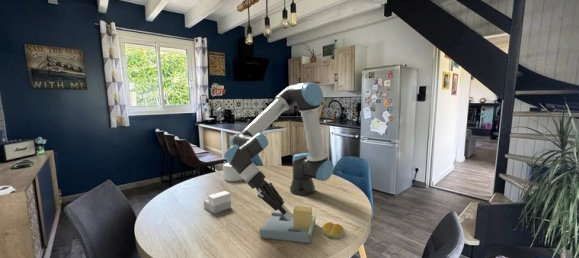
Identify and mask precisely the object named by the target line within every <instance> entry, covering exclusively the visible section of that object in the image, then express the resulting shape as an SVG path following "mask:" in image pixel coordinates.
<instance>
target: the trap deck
mask: <svg viewBox="0 0 579 258" xmlns="http://www.w3.org/2000/svg"><path fill="white" fill-rule="evenodd" d="M270 214H271V215H270V217H269V218H268V219H267V221H266V222H265V224H264V226H263V227H260V229H259V232H260V233H259V234H260V236H259V237H260V239H262V240H263V239H265V240H272V241H273V240H274V241H281V242H282V241H283V242H288V243H289V242H290V243H299V244H307V245H310V244H311V243H312V239H313V236H314V235H313V234H314V231H315V227H316V213H312V221H311V225H310V228H309V229H302V228H294V227H293V218H292V219H291V220H289V221H288V220H287V219H286V218H285V216H284V215H283V214H282V213H281V212H280V211H279V212H277V211H271V213H270Z"/></svg>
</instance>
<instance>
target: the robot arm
mask: <svg viewBox="0 0 579 258" xmlns="http://www.w3.org/2000/svg"><path fill="white" fill-rule="evenodd" d="M323 98H324V93H323V90H322V87H321V86H320V85H318V84H317V83H315V82H308V81H307V82H300V83H293V84H290V85H288V86H287V87H285V89H283V90H282V91H281V92H279V93H278V94H277V95H276V96H275V97H274V100H273V102H272V103H270V104H269V105H267V107H266V108H265V109H264V110H263V111H262V112H261V113H260V114H259V115H258V116H257V117H256V118H255V119H253V120H252V122H250V124H248V125H247V126H246V127H245V128H244V129H243V130H242V131H240V133H236V134H233V135H232V136H231V138H230V145H231V146H230V147H228V149H227V150H226V151H225V152H224V155H223V157H224V159H225V160H226V162H227V163H229V164H230V165H231V166H232V167H233V168H234V169H235V170H236V171H237V172H238V173H239V175H240V176H241V177H242V178H243V180H244V181H245V182H247V185H248V186H249V187H250V188H251V189H252V190H253V189H256V191H257V192H258V194H257V197H258V198H259V199H261V200H262V201H264V202H265V203H266V204H267V205H268V206H269V207H270V208H272V209H273V210H274V211H275V212H277V211H279V212H280V213H282V214H283V215H284V216H285V218H286V219H287V220H288V221H289V220H291V219H292V218H293V212H291V211H290V210H289V208H288V207H287V206H286V205H285V204H284V203H285V200H284V199H283V198H282V196H281V194H280V193H279V191H278V190H277V189H276V188H275V187H274V185H273V183H272V182H269V183H268V181H266V180H265V179H266V175H265V174H264V173H263V172H262V171H260V169H259V167H258V166H257V165H256V164H255V163H254V162H253V161H252V160H253V159H254V158H255V157H256V156H258V155H259V154H261V152H263V151H264V150H265V149H266V148H267V147H268V145H269V140H268V138H267V137H266V136H265V134H263V132H265V130H266V129H268V128H269V127H270V125H272V124H273V122H274V121H275V120H276V119H278V117H279V116H281V114H282V113H284V112H286V111H288V110H290V109H291V108H292V107H295V106H297V110H298V112H299V113H300V114H301V119H302V124H303V129H304V135H305V136H304V137H305V139H306V146H307V151H308V152H301V153H296V154H294V155H293V156H292V180H291V184H290V187H289V192H290V193H291V194H294V195H297V196H308V195H309V196H310V195H313V194H314V193H315V192H316V186H315V184H314V180H313V179H315V180H317V181H321V182H325V181H326V182H327V181H328V180H329V179H330V178H331V177H332V175H333V173H334V169H335V167H334V162H332V161H331V160H329V156H328V154H327V153H326V152H325V149H324V144H323V137H322V130H321V124H320V123H321V122H320V118H319V111H318V110H319V109H320V107H321V105H320V104H322V102H323Z"/></svg>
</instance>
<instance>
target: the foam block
mask: <svg viewBox="0 0 579 258" xmlns="http://www.w3.org/2000/svg"><path fill="white" fill-rule="evenodd" d="M231 202H232V200H231V192H228V191H226V190H223V191H219V192H216V193H213V194H209V195H207V199H205V200H203V207H205V209H206V210H208V211H210V213H212V214H217V213H220V212H223V211H226V210H229V209H231V208H232V203H231Z"/></svg>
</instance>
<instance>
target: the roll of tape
mask: <svg viewBox="0 0 579 258" xmlns="http://www.w3.org/2000/svg"><path fill="white" fill-rule="evenodd" d="M224 179H225V180H224ZM223 180H224V181H226V180H227V182H239V180H240V181H243V180H244V179H243V178H242V177H241V176H240V175H239V173H238V172H237V171H236V170H235V169H234V168H233V167H232V166H231V165H230V164H229V163H228V162H225V163H224V164H223Z"/></svg>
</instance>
